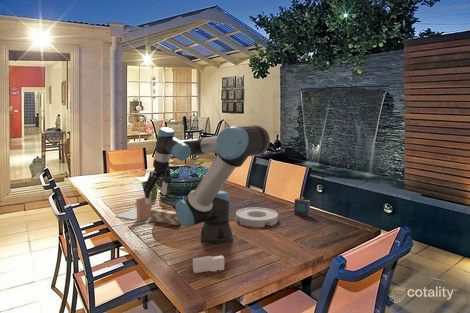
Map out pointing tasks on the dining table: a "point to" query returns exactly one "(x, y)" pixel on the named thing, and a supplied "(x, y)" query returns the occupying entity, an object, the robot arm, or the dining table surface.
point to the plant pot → (154, 191)
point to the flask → (302, 207)
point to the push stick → (164, 216)
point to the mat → (129, 214)
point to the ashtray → (256, 217)
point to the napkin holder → (208, 263)
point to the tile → (143, 208)
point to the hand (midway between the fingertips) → (155, 198)
